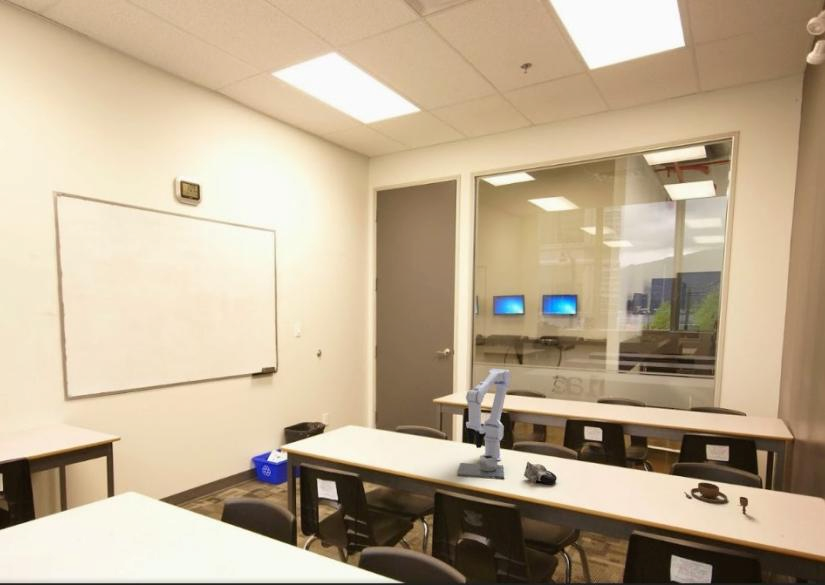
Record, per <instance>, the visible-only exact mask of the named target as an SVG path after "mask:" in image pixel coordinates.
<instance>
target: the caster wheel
mask: <svg viewBox="0 0 825 585" xmlns="http://www.w3.org/2000/svg"><path fill="white" fill-rule="evenodd" d="M524 470H525V471H524V473H523V477H525V479H528V480H529V481H530V482H531V483H533V484H536V482H537V481H539V482H542V483H544V484H548V485H555V484H556V483H557V478H558V477H557V475H556V474H555V473H554V472H552V471H549V470H548V469H547V467H545V466H544V465H543V464H541V463H536V464H535V463H533V464H532V463H531V462H529V461H527V462H526V466H525V469H524Z"/></svg>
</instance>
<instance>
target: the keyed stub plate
mask: <svg viewBox="0 0 825 585" xmlns="http://www.w3.org/2000/svg"><path fill="white" fill-rule="evenodd" d="M504 471H505V470H504V465H499V464H497V470H489V471H485V470H484V469H483V468H481V467H480V463H469V462H467V463H466V462H460V463H459V468H458V471H457V476H458V477H468V476H475V477H474V478H483V477H494V478H493V479H498V478H504V479H505V472H504Z"/></svg>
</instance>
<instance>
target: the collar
mask: <svg viewBox="0 0 825 585" xmlns="http://www.w3.org/2000/svg"><path fill="white" fill-rule="evenodd" d="M479 464H480V467H481V468H483V469H484V470H485V471H489V470H497V465H498V460H497V458H496V457H494V456H493V455H491V454H490V455H485V454H483V455H480V456H479Z"/></svg>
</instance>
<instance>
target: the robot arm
mask: <svg viewBox="0 0 825 585" xmlns="http://www.w3.org/2000/svg"><path fill="white" fill-rule="evenodd" d="M511 379H512V375H511V372H510V370H508V369H499V368H490V370H489V371H488V376H487V377H486V378H485V380H483V381H479V382H478V384H477V385H476V386H475V387H474V388H473V389H470V390H468V391H467V393H466V396H465V400H466V403H467V406H468V421H466V422H465V426H466V427H464V430H465V434H466V436H467V441H468V444H474V443H475V446H476V448H477V449H480V448H482V445H483V442H484V455H490V454H491V455H493V456H494V457H496V458H497V461H501V462H502V456H501V445H500V444H501V441H502V439H503V438H504V429H505V426H504V425H503V423H502V422H501V416H502V412H503V409H504V404H505V403H504V402H505V399H506V395H507V389H508V388H510V384H511V381H512V380H511ZM492 385H493V387H495V393H494V398H493V401H492V402H493V403H492V407H491V411H490V414H489V418H488V419H486V420H485V421H484V422H483V425H482V403H483V401H484V398H485V395H486V394H487V393H488V392H489V391H490V387H491V386H492Z"/></svg>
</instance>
